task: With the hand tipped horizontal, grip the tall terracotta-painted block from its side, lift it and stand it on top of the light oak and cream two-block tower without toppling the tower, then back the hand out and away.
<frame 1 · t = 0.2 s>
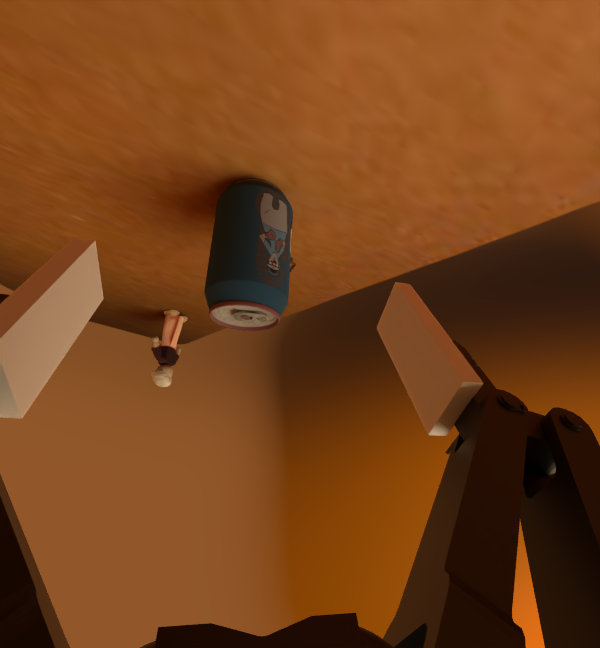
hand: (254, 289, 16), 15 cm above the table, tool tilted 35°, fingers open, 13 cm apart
grandmother figurine: (174, 312, 59), on the table
soda can: (256, 199, 32), on the table
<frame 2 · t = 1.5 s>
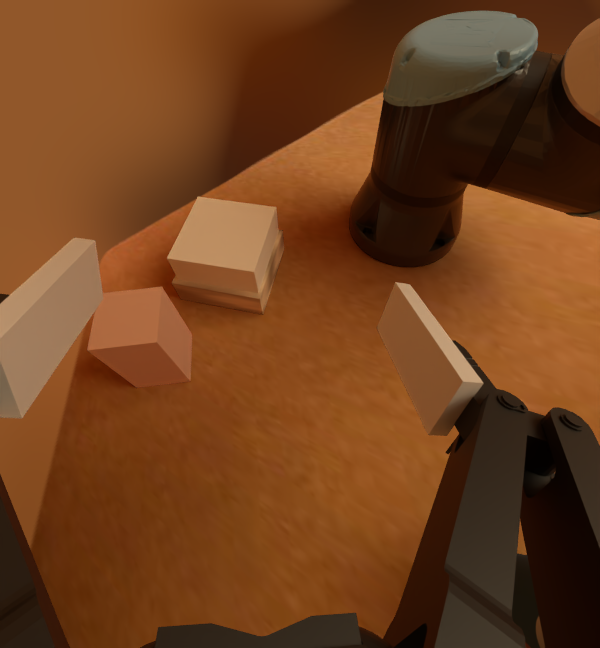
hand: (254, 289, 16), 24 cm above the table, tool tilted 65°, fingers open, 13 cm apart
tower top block: (230, 254, 43), point 4 cm above the table, touching tower base block
soda can: (515, 600, 29), on the table
tall block: (165, 360, 40), on the table
tower base block: (235, 274, 47), on the table, touching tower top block
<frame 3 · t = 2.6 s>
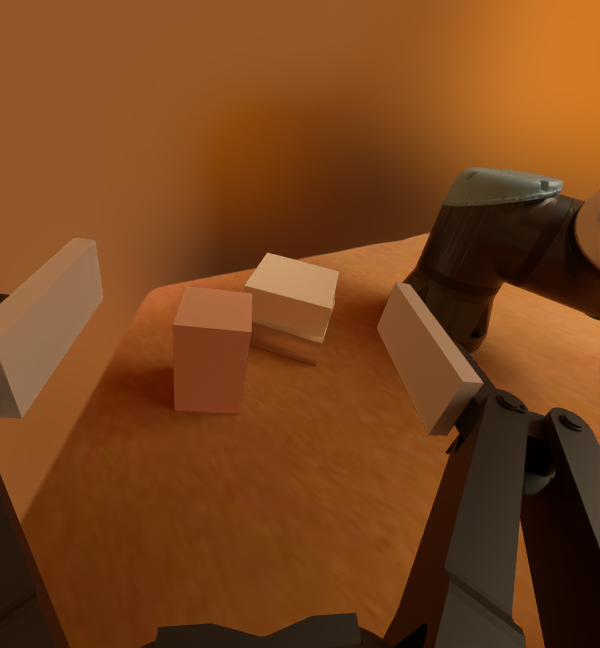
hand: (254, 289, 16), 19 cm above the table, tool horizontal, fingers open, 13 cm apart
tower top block: (290, 305, 44), point 3 cm above the table, touching tower base block
tall block: (210, 388, 35), on the table
tower base block: (283, 331, 46), on the table, touching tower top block
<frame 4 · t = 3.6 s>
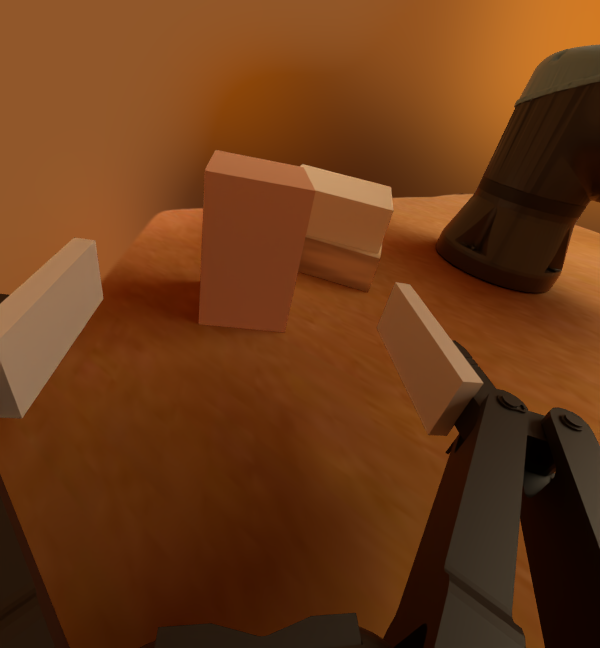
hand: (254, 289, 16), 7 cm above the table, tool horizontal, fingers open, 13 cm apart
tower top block: (331, 223, 36), point 4 cm above the table, touching tower base block
tall block: (243, 305, 27), on the table
tower base block: (322, 259, 38), on the table, touching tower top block
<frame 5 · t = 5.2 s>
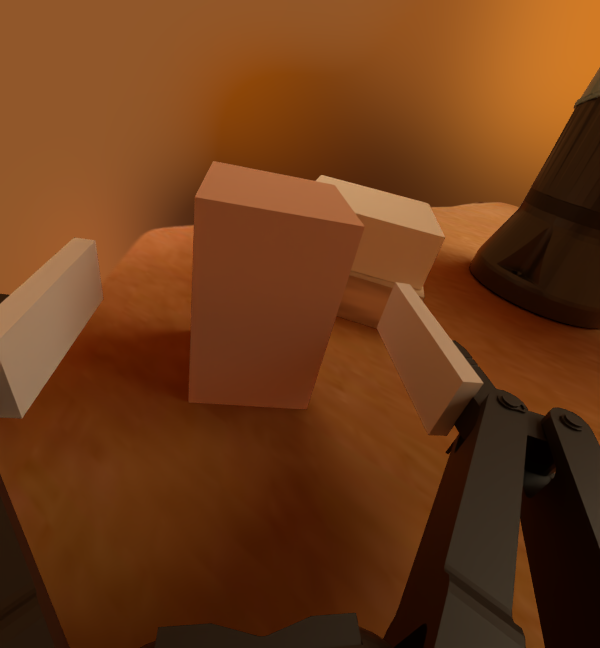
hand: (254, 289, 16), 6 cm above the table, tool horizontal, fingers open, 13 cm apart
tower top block: (357, 248, 29), point 4 cm above the table, touching tower base block
tall block: (250, 366, 20), on the table
tower base block: (343, 290, 31), on the table, touching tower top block
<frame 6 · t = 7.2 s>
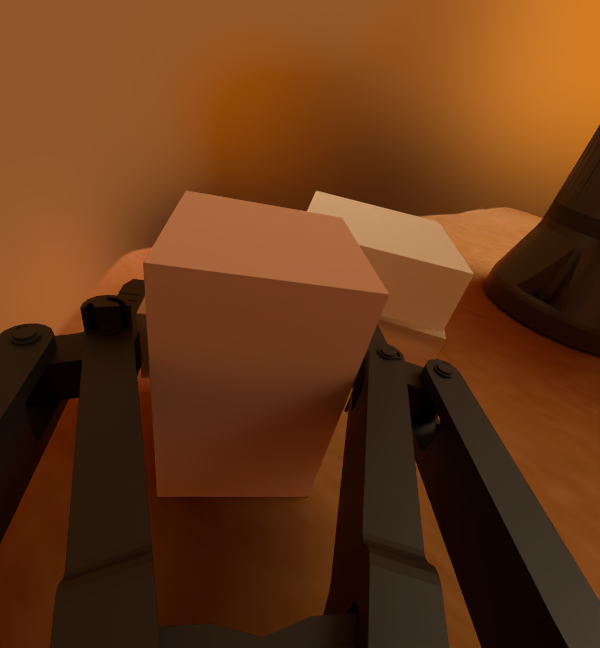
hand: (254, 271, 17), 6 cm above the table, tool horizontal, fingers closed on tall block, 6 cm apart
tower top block: (362, 277, 25), point 3 cm above the table, touching tower base block
tall block: (238, 434, 16), on the table, touching gripper
tower base block: (348, 320, 28), on the table, touching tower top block
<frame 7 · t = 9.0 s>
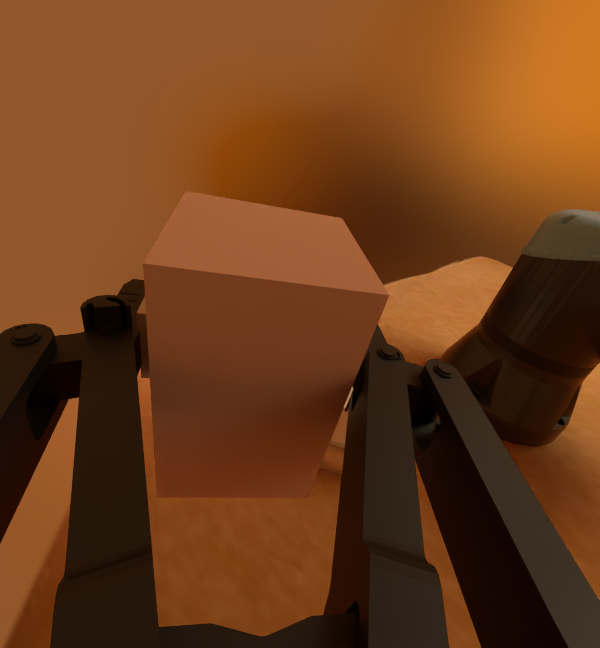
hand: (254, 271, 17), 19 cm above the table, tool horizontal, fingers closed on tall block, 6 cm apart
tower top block: (325, 395, 32), point 3 cm above the table, touching tower base block
tall block: (238, 434, 16), point 12 cm above the table, touching gripper
tower base block: (315, 420, 35), on the table, touching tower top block
when the fingers open (15 cm above the table, at t = 12.6 s): tall block drops 2 cm, resting on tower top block.
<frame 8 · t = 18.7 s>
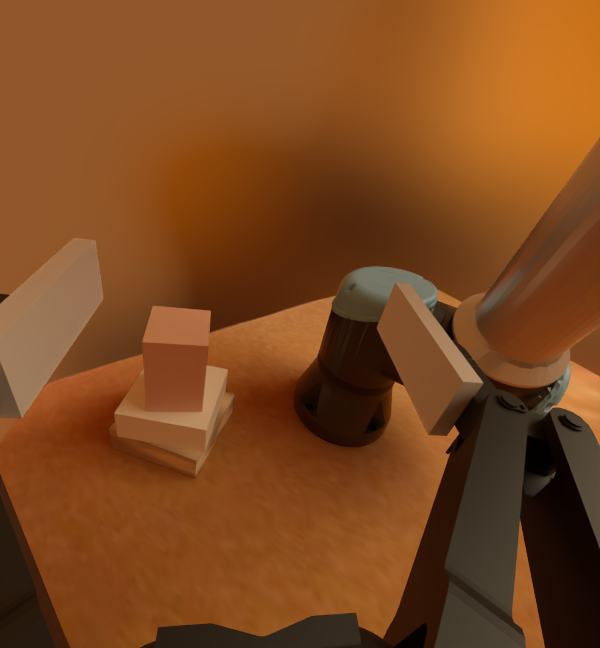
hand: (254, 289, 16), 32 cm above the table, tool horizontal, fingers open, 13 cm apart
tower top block: (177, 411, 44), point 4 cm above the table, touching tall block, tower base block
tall block: (177, 391, 41), point 8 cm above the table, touching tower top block
tower base block: (177, 430, 46), on the table, touching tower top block
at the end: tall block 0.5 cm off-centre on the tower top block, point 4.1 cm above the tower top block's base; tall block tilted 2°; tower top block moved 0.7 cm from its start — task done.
